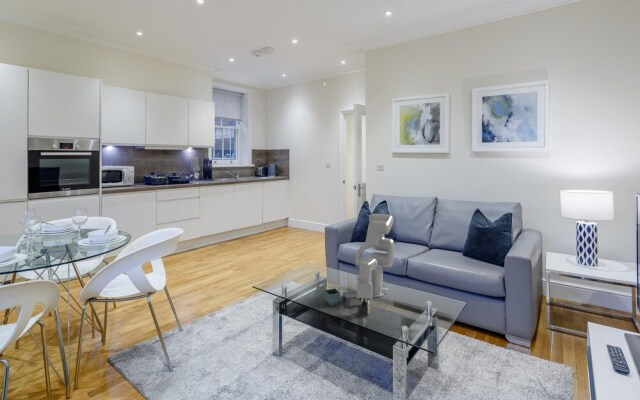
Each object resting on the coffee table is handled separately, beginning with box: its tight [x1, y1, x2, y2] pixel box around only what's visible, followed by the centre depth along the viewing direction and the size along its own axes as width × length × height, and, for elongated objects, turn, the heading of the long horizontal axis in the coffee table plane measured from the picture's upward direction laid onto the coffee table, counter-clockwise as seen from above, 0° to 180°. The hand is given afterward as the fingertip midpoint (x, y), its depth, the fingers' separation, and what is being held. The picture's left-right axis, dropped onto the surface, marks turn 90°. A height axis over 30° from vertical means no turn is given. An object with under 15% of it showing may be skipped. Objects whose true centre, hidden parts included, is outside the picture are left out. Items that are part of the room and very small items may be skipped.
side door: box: [366, 300, 372, 315], centre depth 230 cm, size 14×2×7 cm, turn 173°
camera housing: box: [341, 290, 366, 308], centre depth 240 cm, size 17×9×8 cm, turn 104°
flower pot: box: [323, 288, 341, 307], centre depth 239 cm, size 9×9×9 cm
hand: (364, 306), depth 227 cm, fingers closed
